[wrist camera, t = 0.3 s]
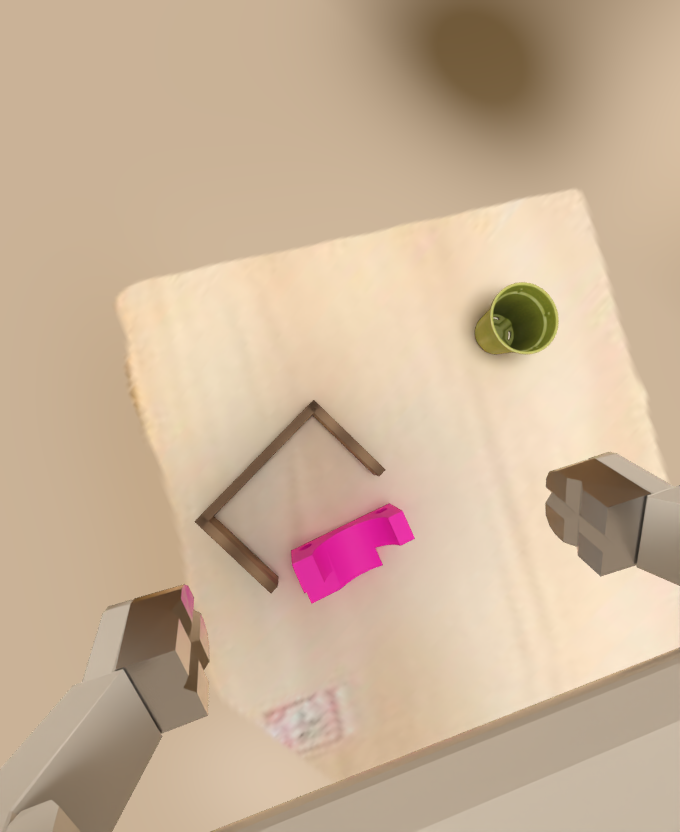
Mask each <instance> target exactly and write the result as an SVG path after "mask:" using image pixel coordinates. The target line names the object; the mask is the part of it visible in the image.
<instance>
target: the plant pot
mask: <svg viewBox="0 0 680 832" xmlns="http://www.w3.org/2000/svg"><path fill="white" fill-rule="evenodd" d="M493 317H498V318H499V320H497V319H493ZM557 329H558V312H557V309H556V306H555V304H554V302H553V300H552V299H551V297H550V296H549V294H548V293H547V292H546V291H544V290H543V289H542V288H540V287H538V286H536V285H534V284H531V283H525V282H519V283H514V284H511V285H509V286H507V287H505V288H504V289H503V290H501V291H500V292H499V293H498V294H497V296H496V297H495V299H494V300H493V303H492V305H491V308H490V309H489V310H488V312H487V313H486V314H485V315H484V316H483V317H482V318H481V319H480V320H479V321H478V323H477V325H476V328H475V337H476V341H477V342H478V344H479V345H480V346H481V347H482V349H483V350H484V351H486V352H488V353H491V354H502V353H509V352H515V353H519V354H533V353H537V352H540V351H542V350H543V349H545V348H546V347H547V346H548V345H549V344H550V343H551V342H552V341H553V339H554V337H555V335H556V333H557ZM508 331H510V333H511V337H510V340H508Z"/></svg>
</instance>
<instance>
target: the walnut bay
mask: <svg viewBox="0 0 680 832" xmlns="http://www.w3.org/2000/svg"><path fill="white" fill-rule="evenodd" d="M312 415H313V416H314V417H315V418H316V419H317V420H318V421H319V422H320V423H321V424H322V425H323V426H324V427H325V428H326V429H327V430H328V431H329V432H330V433H331V434H332V435H334V436H335V437H336V438H337V439H338V440H339V441H340V442H341V443H342V444H343V445H344V446H345V447H346V448H347V449H348V450H349V451H350V452H351V453H352V454H353V455H354V456H355V457H356V458H357V459H358V460H359V461H360V462H361V463H362V464H363V465H364V466H365V467H367V468H368V469H369V470H370V471H371V472H372V473H373V474H374V475H377V476H380V475H381V474H382V473H383V472H384V471H385V469H384V468H383V467H382V466H381V465H380V464H379V463H378V462H377V461H376V460H375V459H374V458H373V457H372V456H371V455H370V454H369V453H368V452H367V451H366V450H365V449H364V448H363V447H362V446H361V445H360V444H359V443H358V442H357V441H356V440H354V439H353V438H352V437H351V436H350V435H349V434H348V433H347V432H346V431H345V430H344V429H343V428H342V427H341V426H340V425H339V424H338V423H337V422H336V421H335V420H334V419H333V418H332V417H331V416H330V415H329V414H328V413H327V412H326V411H325V410H324V409H323V408H322V407H321V406H320V405H318V404H317V403H316V402H315V401H314V400H313V401H312V402H311V403H310V404H309V405H308V406H307V407H306V408H305V409H304V410H303V411H302V412H301V413H300V414H299V415H298V416H297V418H296V419H295V420H294V421H293V422H292V423H291V424H290V425H289V426H288V427H287V428H286V429H285V430H284V431H283V432H282V433H281V434H280V435H279V436H278V437H277V438H276V439H275V440H274V441H273V442H272V443H271V444H270V445H269V446H268V447H267V448H266V449H265V450H264V451H263V452H262V453H261V454H260V455H259V456H258V457H257V458H256V459H255V460H254V461H253V462H252V463H251V464H250V465H249V467H248V468H247V469H246V470H245V471H244V472H243V473H242V474H241V475H240V476H239V477H238V478H237V479H236V480H235V481H234V482H233V483H232V484H231V485H230V486H229V487H228V488H227V489H226V490H225V491H224V492H223V493H222V494H221V495H220V496H219V497H218V498H217V499H216V500H215V501H214V502H213V503H212V504H211V505H210V506H209V507H208V508H207V509H206V510H205V511H204V512H203V513H202V514H201V515H200V517H199V518H198V519H197V520H196V521H195V523H197V524H198V525H199V526H200V527H201V528H202V529H203V530H204V531H205V532H206V533H207V534H208V535H209V536H210V537H211V538H212V539H214V540H215V541H216V542H217V543H218V544H219V545H220V546H221V547H222V548H223V549H224V550H225V551H226V552H227V553H228V554H229V555H231V556H232V557H233V558H234V559H235V560H236V561H237V562H238V563H239V564H240V565H241V566H242V567H243V568H244V569H245V570H246V571H247V572H249V573H250V574H251V575H252V576H253V577H254V578H255V579H256V580H257V581H258V582H259V583H260V584H261V585H262V586H263V587H264V588H266V589H267V590H268V591H269V592H270V593H272V592H273V591H274V590H275V589H276V588H277V586H278V576H277V575H276V574H274V573H273V572H272V571H271V570H270V569H269V568H268V567H267V566H266V565H265V564H264V563H263V562H262V561H261V560H260V559H259V558H258V557H256V556H255V555H254V554H253V553H252V552H251V551H250V550H249V549H248V548H247V547H246V546H245V545H244V544H243V543H242V542H241V541H240V540H239V539H237V538H236V537H235V536H234V535H233V534H232V533H231V532H230V531H229V530H228V529H227V528H226V527H225V526H224V525H223V524H222V523H221V522H219V521H218V520H217V519H216V518H215V517H214V515H215V514H216V513H217V512H218V511H219V510H220V509H221V508H222V507H223V506H224V505H225V504H226V503H227V502H228V501H229V500H230V499H231V498H232V497H233V496H234V495H235V494H236V493H237V492H238V490H239V489H240V488H241V487H242V486H243V485H244V484H245V483H246V482H247V481H248V480H249V479H250V478H251V477H252V476H253V475H254V474H255V473H256V472H257V471H258V470H259V469H260V468H261V467H262V466H263V465H264V464H265V463H266V462H267V461H268V460H269V459H270V458H271V457H272V456H273V455H274V454H275V453H276V451H277V450H278V449H279V448H280V447H281V446H282V445H283V444H284V443H285V442H286V441H287V440H288V439H289V438H290V437H291V436H292V435H293V434H294V433H295V432H296V431H297V430H298V429H299V428H300V427H301V426H302V425H303V424H304V423H305V422H306V421H307V420H308V419H309V418H310V417H311V416H312Z"/></svg>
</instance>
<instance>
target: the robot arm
mask: <svg viewBox="0 0 680 832" xmlns="http://www.w3.org/2000/svg"><path fill="white" fill-rule="evenodd" d="M546 487H547V489H548V490H549V491H550V492H551V495H550V497H549V498H548V500H547V501H546V517H547V520H548V522H549V525H550V527H551V529H552V530H553V532H554V533H555V534H556V535H557V536H558V537H559V538H560V539H561V540H562V541H563V542H565V543H568V544H570V545H573V546H576V547H577V553H578V556H579V557H580V558H581V559H582V560H583V561H584V562H585V563H587V564H588V565H589V566H590V567H591V568H592V569H593V570H594V571H595V572H596V573H597V574H599V575H600V576H604V575H607V574H610V573H613V572H616V571H619V570H622V569H625V568H629V567H632V566H635V565H637V568H640V569H642V570H644V571H647V572H649V573H651V574H654V575H656V576H658V577H661V578H663V579H665V580H668V581H670V582H672V583H674V584H677V585H679V586H680V485H679V486H676V487H674V486H672V485H671V484H669V483H667V482H665V481H664V480H662V479H660V478H658V477H657V476H655V475H653V474H651V473H650V472H648V471H646V470H644V469H643V468H641V467H639V466H638V465H636V464H634V463H632V462H631V461H629V460H627V459H625V458H624V457H622V456H620V455H618V454H617V453H612V452H607V453H604V454H601V455H598V456H595V457H592V458H589V459H588V460H584V461H581V462H578V463H575V464H571V465H568V466H565V467H562V468H559V469H556V470H553V471H549V473H548V475H547V478H546ZM193 604H194V597H193V595H192V593H191V591H190V589H189V587H188V586H187V585H185V584H183V585H180V586H176V587H173V588H170V589H166V590H162V591H159V592H155V593H152V594H148V595H145V596H141V597H138V598H135V599H133V600H129V601H126V602H122V603H119V604H115V605H112V606H109V607H108V608H107V609H106V610H105V611H104V612H103V614H102V618H101V621H100V624H99V628H98V631H97V635H96V637H95V641H94V644H93V647H92V651H91V654H90V657H89V661H88V664H87V667H86V670H85V674H84V677H83V680H82V683H79V684H76V685H74V686H72V687H71V689H70V690H69V691H68V692H67V693H66V694H65V695H64V697H63V698H62V699H61V700H60V701H59V702H58V704H57V705H56V706H55V707H54V708H53V709H52V710H51V711H50V713H49V714H48V715H47V716H46V717H45V718H44V719H43V721H42V722H41V723H40V724H39V725H38V726H37V728H36V729H35V730H34V731H33V732H32V733H31V734H30V736H29V737H28V738H27V739H26V740H25V741H24V742H23V743H22V744H21V746H20V747H19V748H18V749H17V750H16V751H15V753H14V754H13V755H12V756H11V757H10V758H9V759H8V760H7V762H6V763H5V764H4V765H3V766H2V767H1V769H0V832H112V831H113V829H114V827H115V825H116V823H117V821H118V819H119V818H120V816H121V814H122V812H123V810H124V808H125V806H126V804H127V802H128V800H129V799H130V797H131V795H132V793H133V791H134V789H135V787H136V785H137V783H138V782H139V780H140V778H141V776H142V774H143V772H144V770H145V768H146V766H147V764H148V763H149V760H150V759H151V757H152V755H153V753H154V751H155V749H156V747H157V745H158V744H159V742H160V740H161V738H162V735H161V733H164V732H166V731H169V730H172V729H174V728H177V727H180V726H182V725H185V724H187V723H190V722H193V721H195V720H198V719H200V718H203V717H205V716H208V699H209V681H208V679H207V677H206V675H205V672H204V669H205V668H206V666H207V664H208V663H209V649H210V648H209V641H208V633H207V630H206V626H205V622H204V620H203V618H202V615H201V613H199V612H197V611H195V610H193ZM211 832H680V648H677V649H675V650H672V651H669V652H667V653H664V654H662V655H659V656H657V657H654V658H652V659H649V660H647V661H644V662H641V663H639V664H636V665H634V666H631V667H629V668H626V669H624V670H621V671H619V672H616V673H613V674H611V675H608V676H606V677H603V678H601V679H598V680H596V681H593V682H591V683H588V684H585V685H583V686H580V687H578V688H575V689H573V690H570V691H568V692H565V693H563V694H560V695H557V696H555V697H552V698H550V699H547V700H545V701H542V702H540V703H537V704H535V705H532V706H530V707H527V708H524V709H522V710H519V711H517V712H514V713H512V714H509V715H507V716H504V717H502V718H499V719H496V720H494V721H491V722H489V723H486V724H484V725H481V726H479V727H476V728H474V729H471V730H468V731H466V732H463V733H461V734H458V735H456V736H453V737H451V738H448V739H445V740H443V741H440V742H438V743H435V744H433V745H430V746H428V747H425V748H422V749H420V750H417V751H415V752H412V753H410V754H407V755H405V756H402V757H400V758H397V759H394V760H392V761H389V762H387V763H384V764H382V765H379V766H377V767H374V768H371V769H369V770H366V771H364V772H361V773H359V774H356V775H354V776H351V777H348V778H346V779H343V780H341V781H338V782H336V783H333V784H331V785H328V786H325V787H323V788H320V789H318V790H315V791H313V792H310V793H308V794H305V795H303V796H300V797H297V798H295V799H293V800H290V801H287V802H285V803H282V804H280V805H277V806H274V807H272V808H269V809H267V810H264V811H262V812H259V813H257V814H254V815H252V816H249V817H246V818H244V819H241V820H239V821H236V822H234V823H231V824H229V825H226V826H224V827H221V828H218V829H216V830H214V831H211Z"/></svg>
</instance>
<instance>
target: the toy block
mask: <svg viewBox="0 0 680 832" xmlns="http://www.w3.org/2000/svg"><path fill="white" fill-rule="evenodd" d="M413 539H415V538H414V536H413V533H412V531H411V529H410V527H409V524H408V522H407V520H406V518H405V515H404V513H403V511H402V510H400V509H398V508H396V507H395V506H393V505H391V504H387V505H385V506H383V507H381V508H379V509H377V510H375V511H373V512H370V513H368V514H366V515H364V516H362V517H360V518H358V519H356V520H354V521H352V522H350V523H348V524H346V525H343V526H341V527H339V528H337V529H335V530H333V531H331V532H329V533H327V534H325V535H323V536H321V537H318V538H316V539H314V540H312V541H310V542H308V543H306V544H304V545H302V546H300V547H298V548H296V549H294V550H291V557H292V566H293V569H294V571H295V573H296V575H297V578H298V580H299V582H300V584H301V587H302V589H303V591H304V593H306V592H307V594H308V597H309V599H310V601H311V603H314V602H316V601H318V600H320V599H322V598H324V597H326V596H328V595H330V594H332V593H334V592H336V591H338V590H340V589H341V588H342V587H343V586H345V585H346V584H347V583H348V582H350V581H351V580H353V579H354V578H356V577H357V576H359V575H361V574H363V573H365V572H367V571H369V570H371V569H373V568H376V567H379V566H382V565H383V564H382V562H381V560H380V558H379V555H378V553H377V551H376V549H375V548H376V547H380V546H384V545H391V544H395V545H400V546H401V545H403V544H405V543H407V542H409V541H411V540H413Z"/></svg>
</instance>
